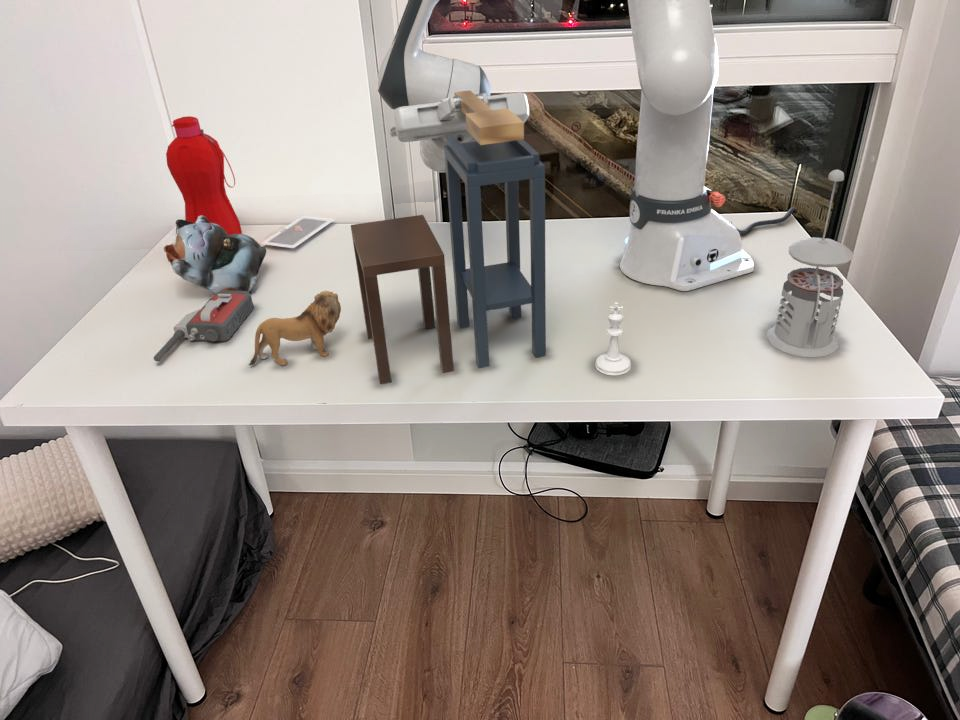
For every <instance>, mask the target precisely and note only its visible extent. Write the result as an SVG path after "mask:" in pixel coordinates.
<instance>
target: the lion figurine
mask: <svg viewBox="0 0 960 720" xmlns="http://www.w3.org/2000/svg"><path fill="white" fill-rule="evenodd" d="M313 299H314V300H313V302H311V303H310V305H308V306H307V307H306V308H305V309H304V310H303V311H302V312H301V313H300V314H299V315H298V316H293V317H287V318H281V317H269V318H267V319H265V320H264V321H262V322H261V323H259V325H258V327H257V328H256V330H255V335H254V355H253V357H252V359H251V360H250V362H249V364H248V366H253V365H255V364H256V363H257V360H258V358H259V359H261V360H264V359H265V360H266V359H268V357H269V354H268V353H267V352H264V350H265V348H266V347H267V346H269V348H270V350H271V353H270V356H271V357H272V358H273V360H275V362H276V363H277V364H278V365H279V366H281V367H283V366H287V365H288V360H287V359H286V358H281V357H280V354H279V351H280V346H281V339H284V340H287V341H289V342H302V341H305V340H308V339H310V342H311V347H312V348H313V349H314V350H316V351H317V353H318V354H319V356H321V357H324V358H325V357H328V356H329V355H330V353H329V351H328V350H325V348H324V347H325V338H324V336H326V335H327V334H329V333H332V332H333V331H334V330H335V328H336V324H337V322H338V321H339V319H340V317H341V312H342V307H341V303H340V301H339V295H338V293H336V292H335V293H334V292H333V291H330V290H329V291H328V290H323V291H320V293H317V294H316V295H314V297H313ZM261 335H262V337H261Z"/></svg>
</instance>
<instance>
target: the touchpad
mask: <svg viewBox="0 0 960 720" xmlns="http://www.w3.org/2000/svg"><path fill="white" fill-rule="evenodd" d="M335 220H336V218H331V217H322V216H313V215H306V214H303V215H301V216H300V217H298V218H297V219H295V220H294V221H292V222H291V223H289V224H287V225H286V226H284V227H283V228H281V229H280V230H278V231H277V232H275V233H273V234H272V235H270V236H269V237H268V238H266V239H265V240H263V241H262V242H260V243H259V244H260V245H266V246H274V247H280V248H281V247H282V248H287V249H295V248H297V247H298V246H299V245H301V244H302V243H303V242H305V241H307V240H309V238H311V237H312V236H313V235H315V234H317V233H318V232H319V231H321V230H322V229H324V228H325V227H327V226H328V225H329V224H331V223H332V222H334V221H335Z"/></svg>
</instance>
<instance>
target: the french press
mask: <svg viewBox="0 0 960 720" xmlns="http://www.w3.org/2000/svg"><path fill="white" fill-rule="evenodd" d="M827 179H828V180H829V181H832V182H833V186H832V191H831V196H830V200H829V205H828V210H827V215H826V220H825V225H824V230H823V234H822V237H809V238H804V239H800V240H798V241H796V242H793V243H792V244H790V245H789V246H788V255H790V257H791V258H792V259H793V260H794V261H797V262H799V263H800V264H804V265H807V266H811V267H800V268H799V267H798V268H796V269H793V270H791V271H790V272H789V273H788V274H787V276H786V277H787V279H786V281H784V282H783V286H782V290H781V296H782V298H780V299H779V304H780V305H781V306H778V314H777V317H776V320H777V321H776V322H775V324H774V325H773V326H772V327H771V328H770V329H768V330H767V333H766V339H767V340H768V342H769V344H770V345H772V346H773V347H774V348H776V349H778V350H779V351H780V352H784V353H786V354H789V355H792V356H795V357H803V358H823V357H825V356H829V355H831V354H834V353H835V352H836V351H837V350H838V349H839V348H840V346H839V345H840V343H839V342H840V341H839V339H838V337H836V336H835V331H836V325H837V323H838V317H839V315H840V309H841V305H842V301H843V298H844V297H843V296H844V289H843V288H842V287H843V285H844V281H843V279H842V277H841V276H839V275H838V274H837V273H834V272H833V271H831V270H830V271H829V270H827V269H824V268H837V267H840V266H843V265H846V264H848V263H849V262H850V261H852V259H854V252H853V251H852V250H851V249H850V248H848V246H846V244H843V243H840V242H838V241H836V240H834V239H832V238H828V237H827V238H825V237H826V233H827V228H828V225H829V224H828V223H829V219H830V214H831V209H832V204H833V200H834V195H835V191H836V185H837V182H842V181H845V172H843V171H842V170H840V169H833V170H832V171H830V172H829V173H828V177H827ZM821 294H824V295H827V296H829V297H830V299H829V298H825V297H823V296H821ZM834 298H835V299H834ZM786 302H787V303H786ZM784 310H785V311H784ZM818 310H819V311H818ZM782 317H783V318H782ZM816 317H817V319H816Z"/></svg>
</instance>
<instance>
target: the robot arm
mask: <svg viewBox="0 0 960 720" xmlns="http://www.w3.org/2000/svg"><path fill="white" fill-rule="evenodd" d="M439 1H440V0H407V3H406V6H405V8H404V11H403V13H402V17H401V18H400V21H399V23H398V28H396V29H397V30H396V33H395V36H394V37H393V41H392V42H391V44H390V48H389V49H388V51H387V52H386V53H385V56H384V57H383V60H382V61H381V65H380V67H379V70H378V75H377V92H378V94H379V96H380V98H381V99H382V100H383V101H384V103H385V104H386V105H387V106H388V107H389V108H390V109H391V110H393V112H392V117H393V123H394V126H391V127H390V129H389V135H390V137H392V138H394V137H396V138H397V140H398V141H399V142H401V143H412V142H419V143H418V151H419V152H418V153H419V156H420V159H421V161H422V162H423V164H424V165H425V166H426V167H427V168H428V169H430V170H431V171H434V172H436V173H441V174H442V173H446V167H445V154H444V146H445V145H447V142H446V136H454V137H455V138H456V140H457V141H458V142H459V143H468V142H476V140H475V139H474V138H473V137H472V136H471V134H470V133H469V132H468V131H467V126H466V115H465V114H464V113H463V112H462V111H461V108H462V106H461V102H460V101H461V100H460V96H456V97H455V94H454V92H461V91H469V90H470V91H472V92H473V93H474V94H475V95H476V96H477V97H478V98H479V99H481V100H482V101H483V102H484V103H485V104H486V105H487V106H488V107H489V108H491V109H492V110H498V109H506V108H507V109H509V110H510V111H511V112H512V113H513V114H515V115H516V116H517V117H518V118H519V119H521V120H522V121H523V122H524V124H525V123H526V122H527V120H528V119H529V117H530V107H529V102H528V97H527V95H526V93H525V92H523V91H519V92H509V93H502V94H501V93H500V94H495V95H491V83H490V81H489V78H488V77H487V74H486V73H485V71H484V70H483V68H482V67H481V66H480V65H478V64H475V63H471V62H468V61H464V60H460V59H457V58H456V59H455V58H450V57H445V56H442V55H438V54H434V53H431V52H426V51H424V50H422V49H420V48H419V46H420V43H421V41H422V38H423V36H424V33H425V31H426V29H427V26H428V23H429V20H430V18H431V16H432V14H433V10H434V8H435V7H436V5H437V4H438V3H439ZM627 6H628V14H629V20H630V21H629V22H630V28H631V36H632V43H633V49H634V55H635V56H634V57H635V62H636V68H637V73H638V74H637V76H638V81H639V86H640V89H641V93H640V94H641V95H640V107H639V108H640V109H639V117H638V128H637V130H638V131H637V138H636V153H635V171H634V185H632V187H631V192H630V202H629V223H630V225H629V231H628V236H627V237H626V238H625V240H624V243H625V244H626V245H625V248H624V251H623V255H622V258H621V260H620V263H619V269H620V271H621V272H622V273H623V274H624V275H625V276H626V277H628V278H630V279H632V280H634V281H636V282H639V283H641V284H647V285H652V286H660V287H666V288H671V289H674V290H677V291H680V292H681V291H682V292H689V291H692V290H695V289H699V288H702V287H706V286H710V285H713V284H716V283H719V282H723V281H728V280H730V279H733V278H737V277H740V276H743V275H747V274H750V273H752V272H754V270H755V262H754V260H753V258H752V257H751V256H750V254H748V252H746V251H745V250H744V249H743V245H742V237H741V236H742V235H746V234H748V233H749V232H751V231H752V230H753V229H754V228H756V227H761V226H768V225H769V226H770V225H776V224H780V223H783V222H785V221H787V220H788V219H789V218H790V217H791V216H792V214H798V210H797V209H796V208H795V207H790V208H789V209H788V210H787V211H786V213H785V215H783V216H782V217H779V218H775V219H765V220H759V221H754V222H753V223H751V224H749V225H748V226H747V227H746V228H745V229H739V228H738V227H737V226H735V225H734V224H733V222H732V221H730V220H727V218H725V217H723V216H722V214H720V213H719V212H717V211H716V210H714V209H713V208H712V205H711V204H713V206H715V207H717V208H720V207H722V206H723V205H724V204H725V201H726V196H725V195H724V194H722V193H720V192H719V191H712V190H711V189H710V188H708V187H707V186H705V182H706V181H705V180H706V174H707V173H706V171H707V163H708V155H709V154H708V153H709V146H710V135H711V134H710V133H711V122H712V113H713V112H712V111H713V101H714V89H715V87H716V85H717V82H718V78H719V71H720V70H719V69H720V68H719V67H720V66H719V55H718V54H719V53H718V44H717V41H716V37H715V31H714V30H715V29H714V23H713V17H712V10H711V2H710V0H627Z"/></svg>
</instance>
